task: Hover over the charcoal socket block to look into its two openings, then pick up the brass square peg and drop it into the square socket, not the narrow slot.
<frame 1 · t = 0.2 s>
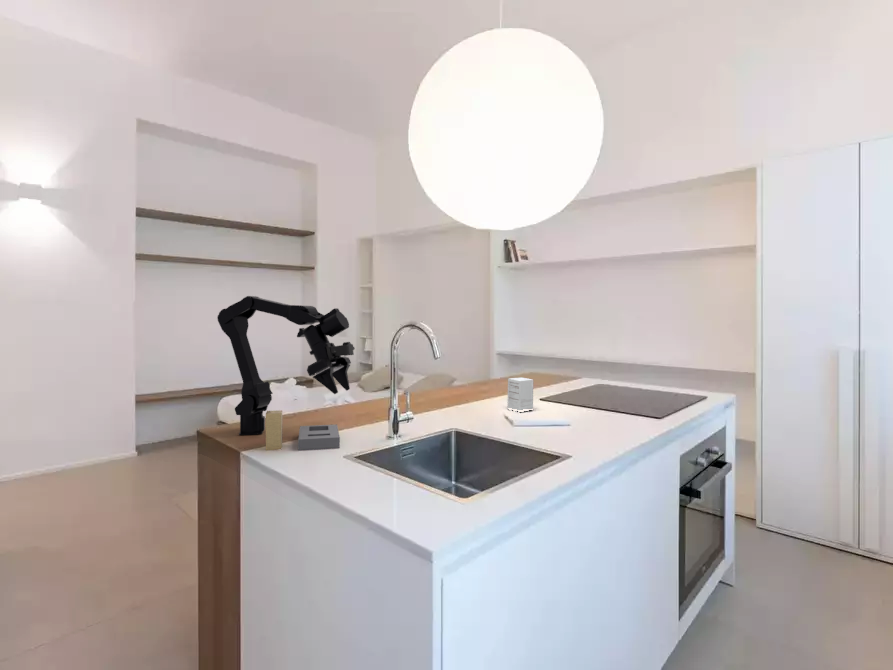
hand: (342, 391, 142), 14 cm above the countertop, tool tilted 30°, fingers open, 9 cm apart
supplement box: (520, 411, 191), on the countertop
socket block: (318, 441, 141), on the countertop
brass peg: (274, 447, 134), on the countertop
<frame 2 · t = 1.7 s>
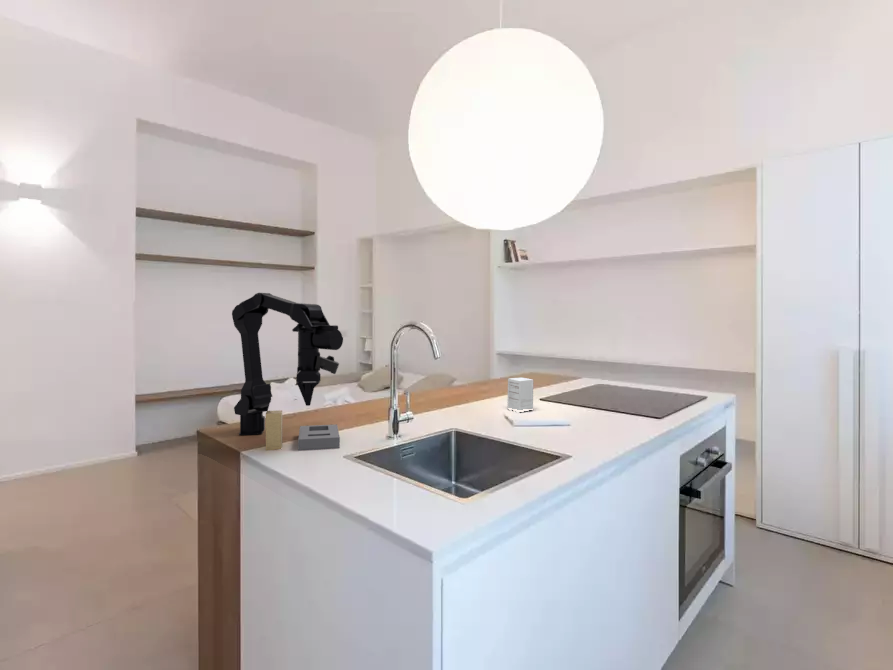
hand: (307, 402, 139), 12 cm above the countertop, tool pointing down, fingers open, 9 cm apart
nothing on the countertop moved.
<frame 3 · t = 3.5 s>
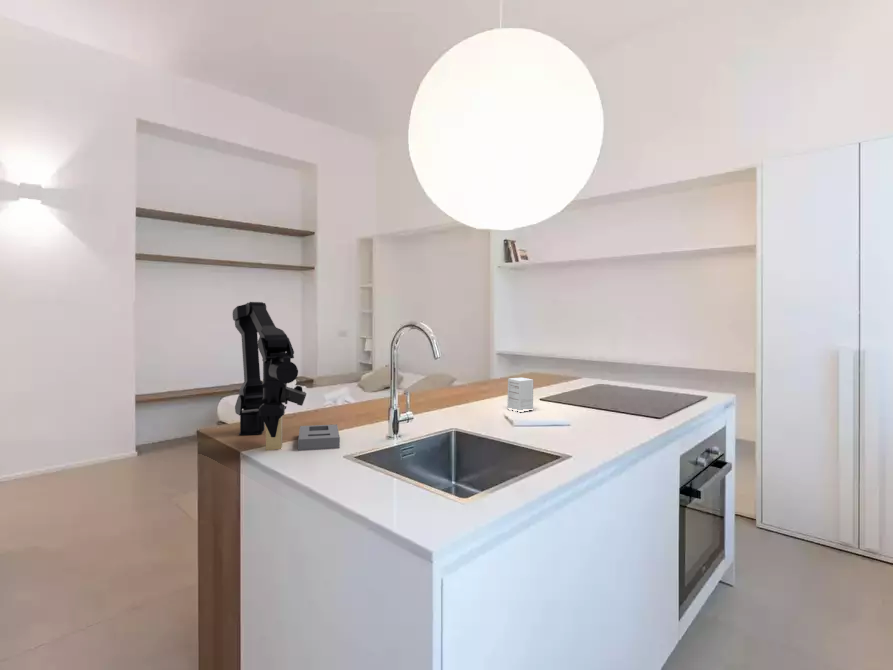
hand: (274, 435, 134), 4 cm above the countertop, tool pointing down, fingers closed on brass peg, 4 cm apart
brass peg: (274, 447, 134), on the countertop, touching gripper
everything else where it was.
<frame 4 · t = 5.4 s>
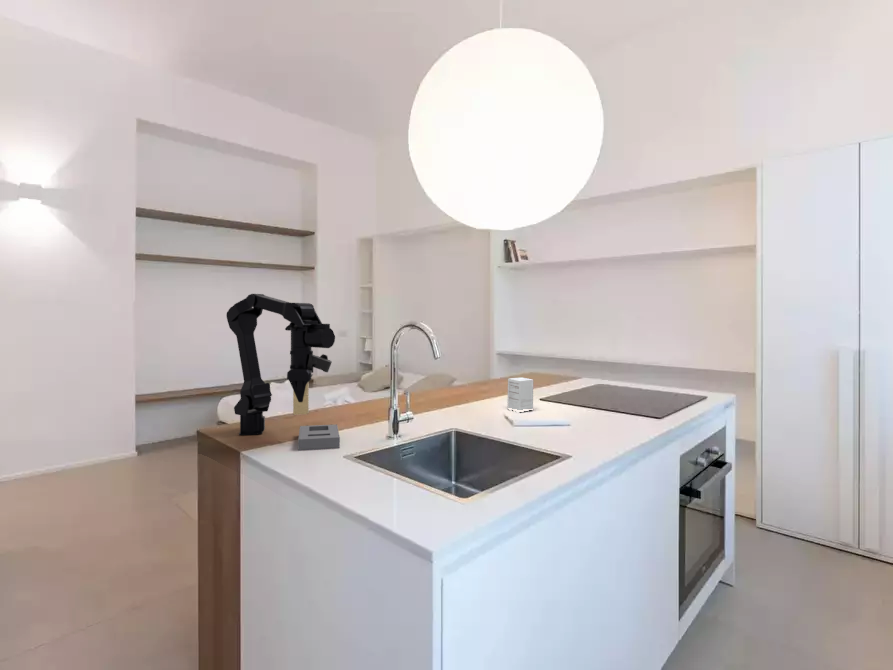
hand: (301, 400, 139), 12 cm above the countertop, tool pointing down, fingers closed on brass peg, 4 cm apart
brass peg: (301, 413, 140), point 9 cm above the countertop, touching gripper
everything else where it was.
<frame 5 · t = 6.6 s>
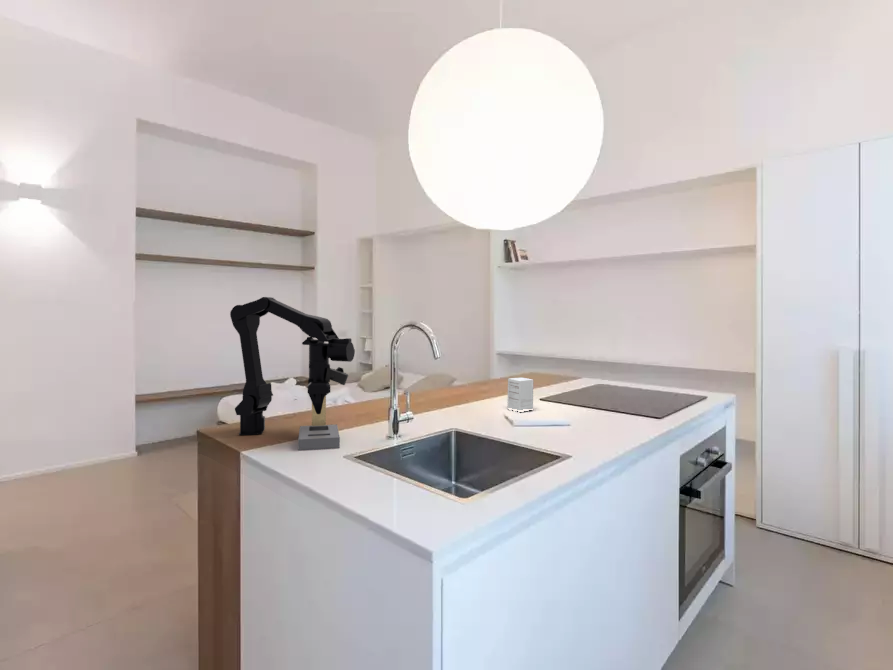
hand: (318, 412, 144), 8 cm above the countertop, tool pointing down, fingers closed on brass peg, 4 cm apart
brass peg: (318, 424, 145), point 4 cm above the countertop, touching gripper
everything else where it was.
when the fingers open (5 cm above the countertop, at t = 7.4 s): brass peg drops 1 cm, resting in socket block.
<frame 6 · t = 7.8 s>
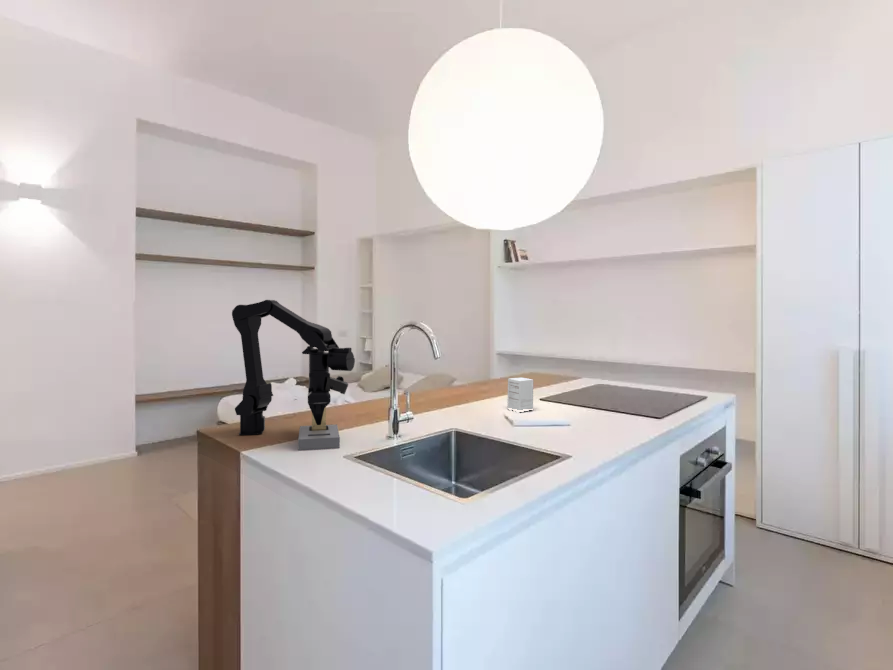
hand: (318, 421, 144), 5 cm above the countertop, tool pointing down, fingers open, 8 cm apart
brass peg: (318, 438, 145), resting in socket block
everything else where it was.
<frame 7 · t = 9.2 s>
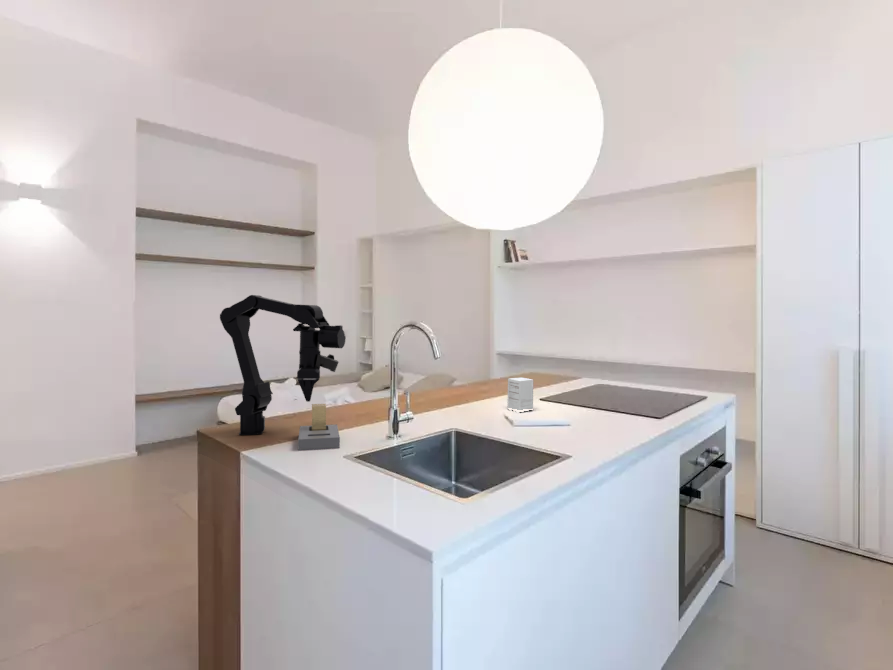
hand: (308, 398, 146), 12 cm above the countertop, tool pointing down, fingers open, 9 cm apart
nothing on the countertop moved.
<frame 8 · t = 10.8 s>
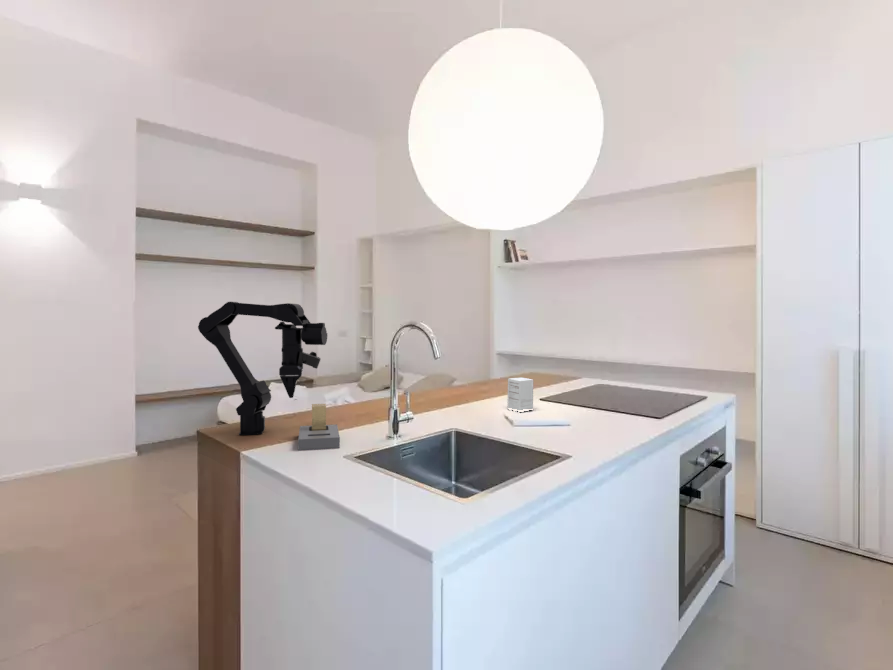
hand: (291, 395, 149), 12 cm above the countertop, tool pointing down, fingers open, 9 cm apart
nothing on the countertop moved.
at the end: brass peg 0.0 cm from the target spot on the socket block, point 0.0 cm above the socket block's base; brass peg tilted 0°; the gripper is holding nothing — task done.
